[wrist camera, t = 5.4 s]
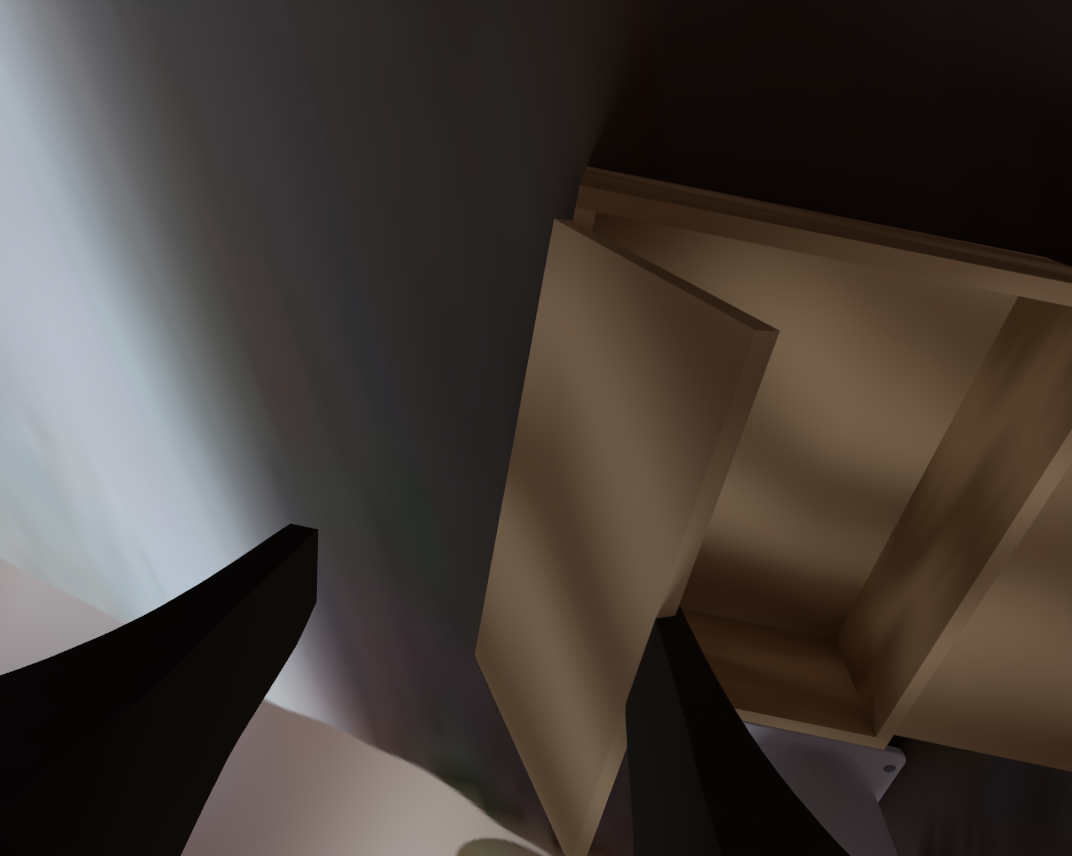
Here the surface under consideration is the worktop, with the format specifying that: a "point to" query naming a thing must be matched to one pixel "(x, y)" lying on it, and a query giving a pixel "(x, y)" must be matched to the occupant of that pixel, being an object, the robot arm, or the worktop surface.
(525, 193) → the worktop surface
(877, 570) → the carton
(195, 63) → the worktop surface
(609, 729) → the carton flap
